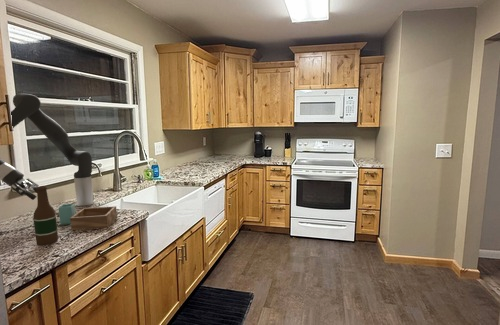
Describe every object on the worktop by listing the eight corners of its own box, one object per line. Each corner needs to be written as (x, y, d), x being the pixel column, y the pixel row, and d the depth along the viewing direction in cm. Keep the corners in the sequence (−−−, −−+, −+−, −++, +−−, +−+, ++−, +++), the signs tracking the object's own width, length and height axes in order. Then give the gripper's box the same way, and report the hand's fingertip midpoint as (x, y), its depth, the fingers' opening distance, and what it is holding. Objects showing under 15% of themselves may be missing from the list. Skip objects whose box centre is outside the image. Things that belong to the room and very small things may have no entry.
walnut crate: (84, 219, 151) (83, 208, 151) (116, 217, 154) (116, 206, 153) (71, 230, 136) (70, 218, 135) (107, 227, 138) (106, 215, 138)
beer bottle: (62, 238, 126) (56, 184, 123) (51, 245, 119) (44, 188, 115) (44, 238, 126) (38, 184, 123) (31, 246, 118) (24, 189, 115)
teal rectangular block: (64, 221, 148) (62, 204, 147) (76, 220, 150) (74, 203, 149) (60, 225, 143) (58, 207, 142) (73, 224, 145) (71, 206, 143)
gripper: (6, 171, 131) (38, 193, 135) (21, 166, 144) (50, 187, 149) (-7, 183, 130) (26, 205, 134) (10, 177, 144) (39, 198, 148)
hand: (39, 196), depth 142 cm, fingers open, 8 cm apart
